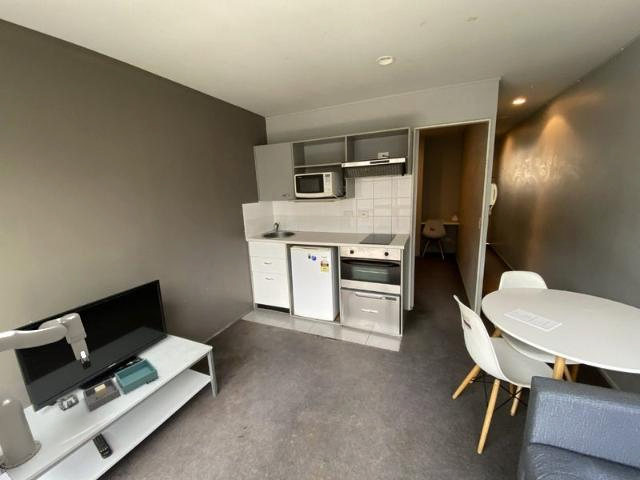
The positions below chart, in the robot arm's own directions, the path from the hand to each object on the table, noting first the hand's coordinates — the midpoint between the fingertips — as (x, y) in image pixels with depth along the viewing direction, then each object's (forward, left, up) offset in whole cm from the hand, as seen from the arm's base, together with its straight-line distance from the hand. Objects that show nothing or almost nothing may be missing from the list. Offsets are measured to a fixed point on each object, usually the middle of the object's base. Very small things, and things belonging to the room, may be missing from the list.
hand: (86, 364), depth 147 cm
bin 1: (+3, +6, -28) cm, 28 cm away
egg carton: (-10, +16, -28) cm, 34 cm away
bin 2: (+21, +6, -28) cm, 35 cm away
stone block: (+3, +6, -27) cm, 27 cm away
